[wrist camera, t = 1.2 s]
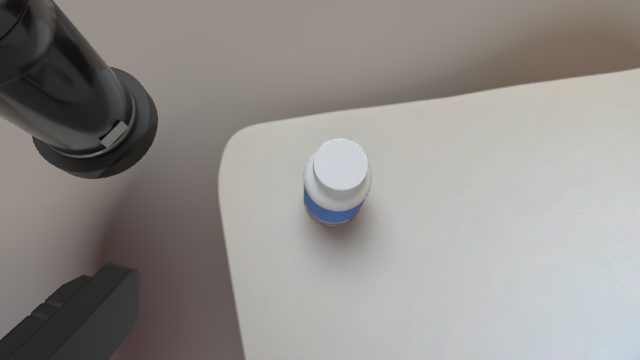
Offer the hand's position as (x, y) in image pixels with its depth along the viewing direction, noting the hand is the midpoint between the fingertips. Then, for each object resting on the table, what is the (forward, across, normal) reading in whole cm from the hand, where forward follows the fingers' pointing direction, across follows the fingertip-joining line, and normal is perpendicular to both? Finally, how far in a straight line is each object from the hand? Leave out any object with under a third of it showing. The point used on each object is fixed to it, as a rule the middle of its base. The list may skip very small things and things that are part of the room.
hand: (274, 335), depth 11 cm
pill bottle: (+26, 0, +10) cm, 28 cm away
